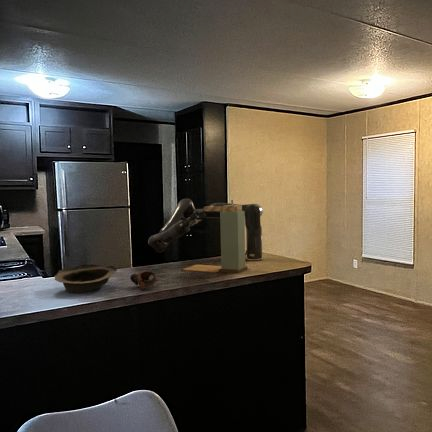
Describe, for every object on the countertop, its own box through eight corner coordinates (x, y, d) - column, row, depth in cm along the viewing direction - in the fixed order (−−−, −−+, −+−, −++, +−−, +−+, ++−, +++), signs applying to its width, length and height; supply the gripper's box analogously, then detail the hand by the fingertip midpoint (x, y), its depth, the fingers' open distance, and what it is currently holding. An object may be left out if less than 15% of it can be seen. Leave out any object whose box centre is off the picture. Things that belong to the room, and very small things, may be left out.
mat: (182, 270, 233) (182, 269, 233) (196, 265, 246) (196, 264, 246) (215, 272, 226) (215, 271, 226) (228, 267, 239) (228, 266, 239)
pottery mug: (159, 285, 202) (160, 271, 197) (151, 299, 194) (153, 285, 189) (133, 278, 201) (134, 265, 197) (124, 292, 193) (125, 278, 189)
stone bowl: (98, 279, 211) (98, 260, 210) (127, 291, 195) (127, 270, 194) (44, 288, 192) (43, 268, 191) (70, 302, 176) (70, 280, 175)
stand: (219, 271, 228) (217, 212, 225) (229, 267, 238) (227, 210, 235) (238, 273, 224) (237, 212, 221) (247, 269, 234) (246, 210, 232)
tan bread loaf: (202, 211, 231) (202, 199, 231) (208, 210, 237) (207, 199, 236) (236, 211, 224) (236, 200, 224) (241, 211, 230) (241, 199, 229)
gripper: (168, 224, 234) (190, 209, 229) (183, 222, 248) (204, 208, 242) (174, 237, 233) (197, 222, 228) (189, 234, 247) (211, 220, 241)
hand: (201, 215), depth 235 cm, fingers open, 8 cm apart
